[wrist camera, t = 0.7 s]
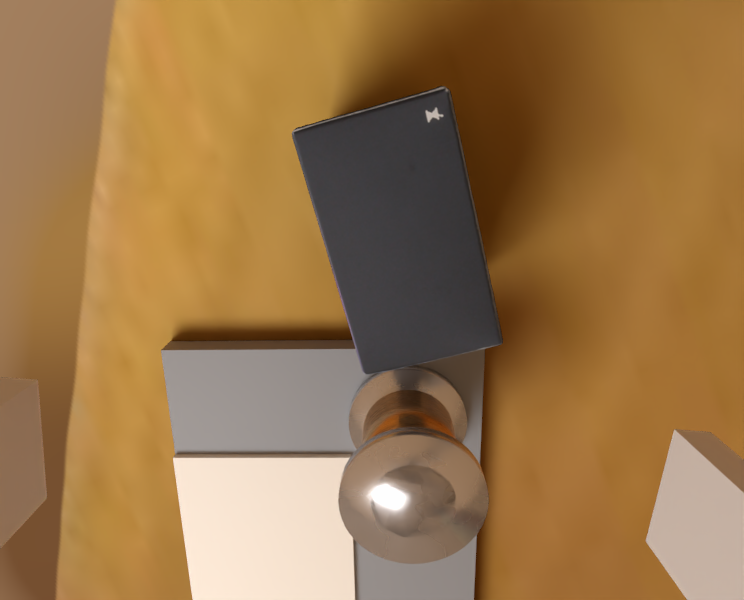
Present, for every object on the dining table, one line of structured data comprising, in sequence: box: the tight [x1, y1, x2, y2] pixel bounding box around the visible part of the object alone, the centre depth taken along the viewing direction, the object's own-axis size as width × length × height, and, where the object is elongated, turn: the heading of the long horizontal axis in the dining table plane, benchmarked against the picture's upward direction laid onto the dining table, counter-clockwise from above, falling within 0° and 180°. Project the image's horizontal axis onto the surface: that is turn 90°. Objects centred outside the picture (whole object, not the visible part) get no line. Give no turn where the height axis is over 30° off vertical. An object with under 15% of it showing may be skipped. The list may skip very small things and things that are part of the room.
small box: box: [292, 86, 503, 375], centre depth 26 cm, size 11×6×10 cm, turn 15°
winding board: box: [161, 340, 485, 600], centre depth 36 cm, size 19×24×2 cm
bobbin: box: [338, 365, 489, 564], centre depth 30 cm, size 7×7×8 cm
